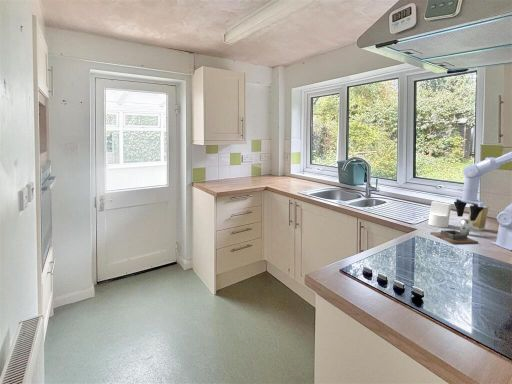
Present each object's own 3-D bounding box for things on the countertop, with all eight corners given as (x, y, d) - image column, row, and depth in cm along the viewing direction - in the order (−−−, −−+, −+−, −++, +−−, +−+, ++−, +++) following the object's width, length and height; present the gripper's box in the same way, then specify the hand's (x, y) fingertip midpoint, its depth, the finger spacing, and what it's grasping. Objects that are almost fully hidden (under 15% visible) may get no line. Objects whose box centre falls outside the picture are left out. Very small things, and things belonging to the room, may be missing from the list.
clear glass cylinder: (470, 235, 144) (472, 220, 143) (463, 235, 144) (465, 221, 142) (464, 232, 148) (466, 218, 146) (457, 232, 147) (459, 219, 146)
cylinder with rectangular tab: (425, 224, 161) (428, 202, 159) (432, 221, 166) (435, 200, 164) (443, 228, 154) (447, 205, 152) (450, 225, 159) (454, 203, 157)
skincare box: (466, 227, 156) (469, 204, 154) (472, 226, 158) (475, 204, 156) (479, 231, 150) (483, 207, 148) (485, 230, 152) (488, 206, 150)
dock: (477, 243, 132) (478, 237, 132) (453, 244, 131) (454, 238, 130) (453, 233, 146) (453, 227, 145) (430, 234, 144) (431, 228, 144)
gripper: (491, 193, 135) (487, 222, 138) (465, 187, 149) (461, 214, 152) (477, 193, 134) (473, 222, 137) (452, 187, 148) (448, 214, 151)
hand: (466, 218), depth 144 cm, fingers open, 7 cm apart
